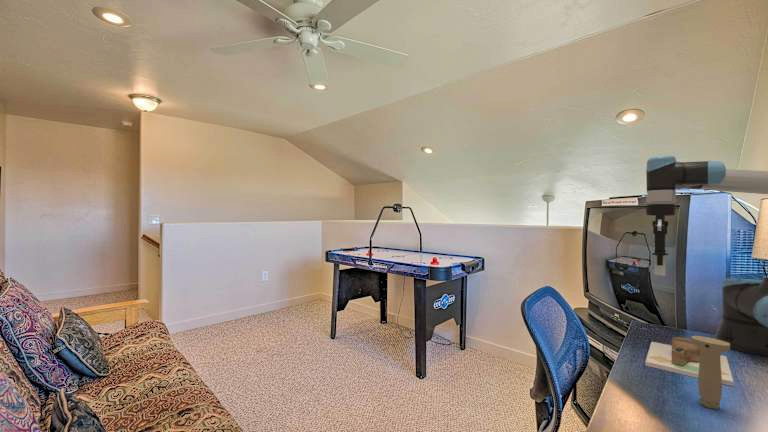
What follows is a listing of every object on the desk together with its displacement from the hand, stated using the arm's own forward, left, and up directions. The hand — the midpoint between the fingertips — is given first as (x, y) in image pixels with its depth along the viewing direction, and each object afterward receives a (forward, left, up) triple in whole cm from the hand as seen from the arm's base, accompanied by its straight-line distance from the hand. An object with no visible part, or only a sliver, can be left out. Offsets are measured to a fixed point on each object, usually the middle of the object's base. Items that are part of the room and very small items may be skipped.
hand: (659, 274), depth 113 cm
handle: (-11, +37, -25) cm, 46 cm away
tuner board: (-7, +9, -24) cm, 27 cm away
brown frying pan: (-6, +11, -23) cm, 26 cm away
